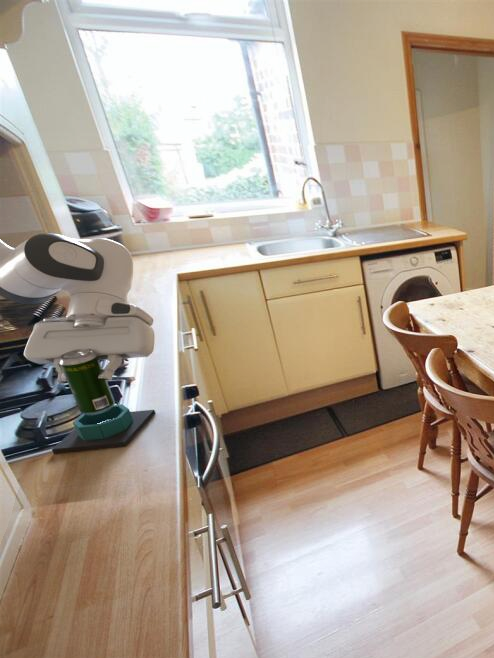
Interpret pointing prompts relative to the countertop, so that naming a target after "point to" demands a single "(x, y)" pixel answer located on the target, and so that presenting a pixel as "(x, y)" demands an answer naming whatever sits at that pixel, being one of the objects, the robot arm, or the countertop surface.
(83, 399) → the beer can
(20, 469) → the countertop surface
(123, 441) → the can pad
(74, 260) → the robot arm
